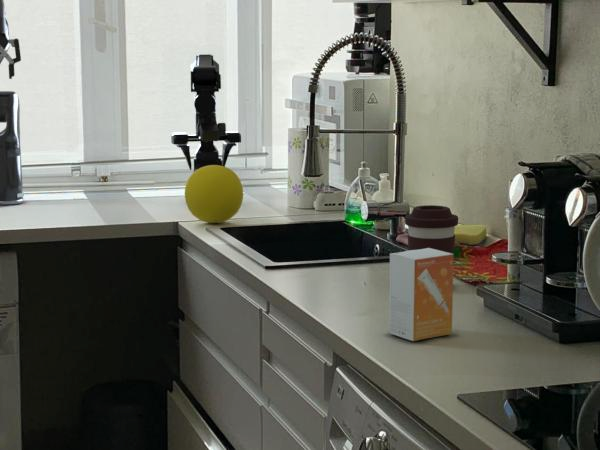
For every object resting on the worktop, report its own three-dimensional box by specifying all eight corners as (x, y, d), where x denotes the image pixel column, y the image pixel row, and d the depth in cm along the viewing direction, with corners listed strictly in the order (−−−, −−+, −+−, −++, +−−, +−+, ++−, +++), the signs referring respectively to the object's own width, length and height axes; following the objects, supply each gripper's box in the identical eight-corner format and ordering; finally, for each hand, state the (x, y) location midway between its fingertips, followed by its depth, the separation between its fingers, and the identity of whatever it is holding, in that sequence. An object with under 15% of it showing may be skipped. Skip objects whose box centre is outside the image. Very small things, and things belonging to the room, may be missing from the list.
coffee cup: (400, 280, 202) (400, 204, 200) (450, 279, 203) (451, 203, 201) (409, 292, 193) (410, 212, 190) (462, 291, 193) (463, 211, 191)
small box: (413, 342, 160) (414, 259, 158) (387, 333, 165) (388, 252, 163) (453, 334, 164) (454, 253, 162) (427, 325, 170) (428, 246, 168)
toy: (233, 216, 283) (232, 161, 280) (250, 224, 269) (249, 166, 266) (179, 219, 278) (177, 163, 275) (194, 228, 264) (192, 169, 261)
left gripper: (-40, 15, 266) (-36, 79, 268) (18, 15, 269) (21, 78, 272) (-38, 16, 273) (-34, 79, 276) (18, 16, 276) (22, 78, 279)
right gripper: (175, 115, 278) (177, 173, 280) (244, 113, 282) (245, 170, 285) (170, 112, 289) (172, 169, 291) (236, 111, 293) (237, 166, 296)
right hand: (206, 169), depth 290 cm, fingers open, 9 cm apart
